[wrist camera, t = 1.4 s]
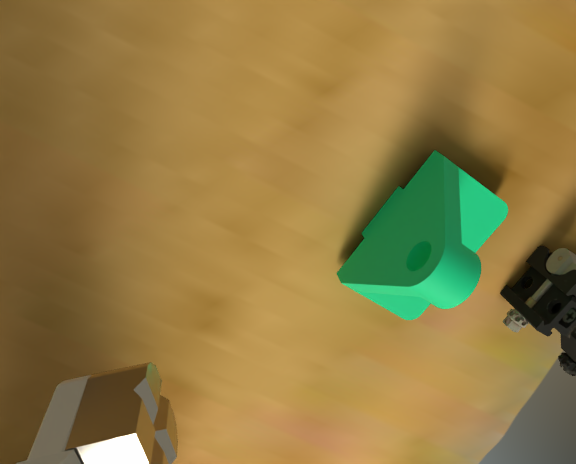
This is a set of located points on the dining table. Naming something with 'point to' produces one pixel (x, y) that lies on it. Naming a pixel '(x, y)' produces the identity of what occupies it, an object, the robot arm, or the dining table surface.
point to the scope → (547, 300)
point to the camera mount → (425, 241)
